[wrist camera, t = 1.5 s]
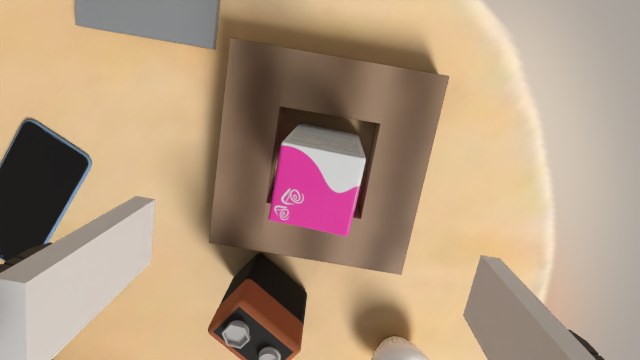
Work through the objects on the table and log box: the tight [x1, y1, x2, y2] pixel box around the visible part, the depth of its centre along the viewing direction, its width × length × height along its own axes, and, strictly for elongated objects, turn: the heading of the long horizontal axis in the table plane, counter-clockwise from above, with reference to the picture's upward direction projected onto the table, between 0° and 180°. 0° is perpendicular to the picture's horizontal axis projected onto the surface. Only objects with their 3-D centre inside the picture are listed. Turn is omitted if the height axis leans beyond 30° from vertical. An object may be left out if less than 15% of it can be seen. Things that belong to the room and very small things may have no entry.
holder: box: [209, 38, 449, 275], centre depth 35 cm, size 18×18×3 cm
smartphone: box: [0, 119, 92, 262], centre depth 38 cm, size 7×1×15 cm
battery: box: [208, 253, 307, 360], centre depth 35 cm, size 4×7×10 cm, turn 46°
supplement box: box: [268, 123, 366, 237], centre depth 31 cm, size 6×6×12 cm
